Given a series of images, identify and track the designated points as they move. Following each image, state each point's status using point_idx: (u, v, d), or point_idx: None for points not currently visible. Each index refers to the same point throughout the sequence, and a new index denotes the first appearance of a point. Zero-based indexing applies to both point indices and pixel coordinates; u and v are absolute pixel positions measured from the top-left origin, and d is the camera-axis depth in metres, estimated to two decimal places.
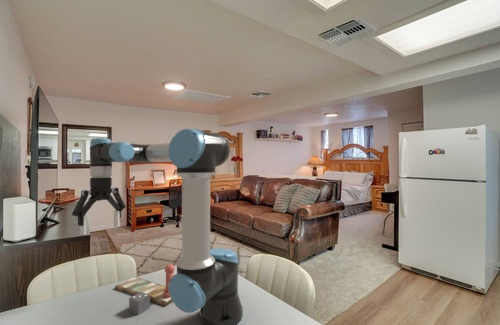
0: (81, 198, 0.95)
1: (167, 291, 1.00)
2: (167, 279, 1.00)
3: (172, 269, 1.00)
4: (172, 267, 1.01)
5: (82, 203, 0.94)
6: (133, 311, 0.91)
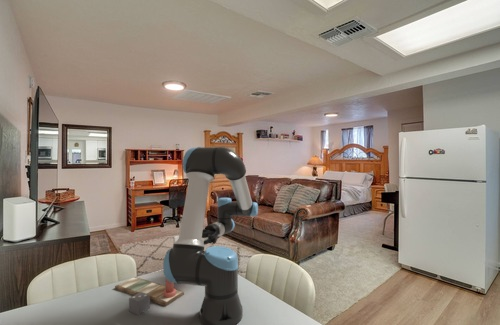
0: None
1: (167, 291, 1.00)
2: None
3: None
4: None
5: None
6: (133, 311, 0.91)
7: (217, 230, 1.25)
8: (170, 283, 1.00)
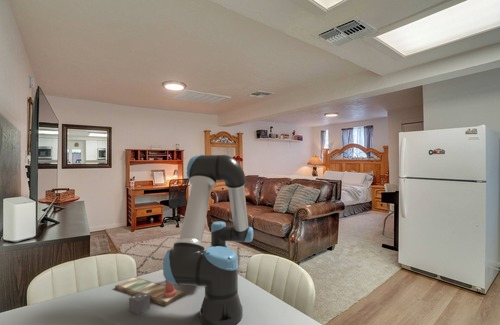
0: None
1: (167, 291, 1.00)
2: None
3: None
4: None
5: None
6: (133, 311, 0.91)
7: None
8: (170, 283, 1.00)
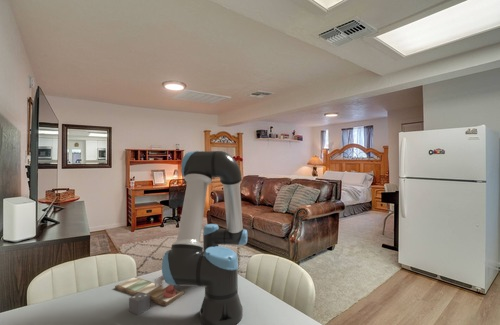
0: None
1: (167, 291, 1.00)
2: None
3: None
4: None
5: None
6: (133, 311, 0.91)
7: None
8: None
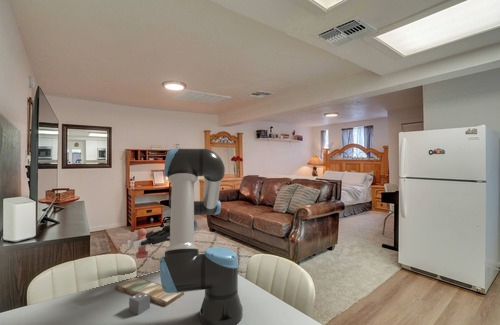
0: None
1: (139, 252, 1.09)
2: None
3: (144, 232, 1.09)
4: (144, 231, 1.09)
5: None
6: (133, 311, 0.91)
7: None
8: None
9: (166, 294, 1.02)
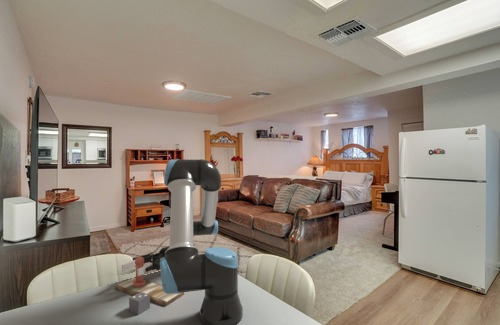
0: None
1: (136, 281, 1.08)
2: None
3: (141, 261, 1.09)
4: (141, 259, 1.09)
5: (142, 255, 1.19)
6: (133, 311, 0.91)
7: None
8: None
9: (166, 294, 1.02)
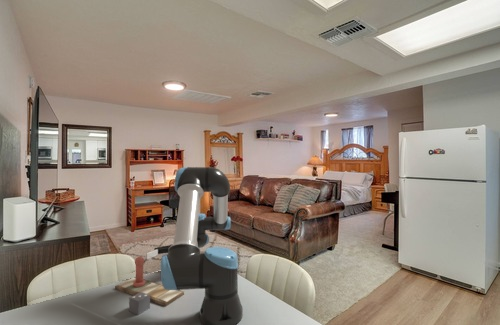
0: None
1: (136, 281, 1.08)
2: (137, 270, 1.08)
3: (141, 261, 1.09)
4: (141, 259, 1.09)
5: (163, 246, 1.32)
6: (133, 311, 0.91)
7: None
8: (139, 274, 1.08)
9: (166, 294, 1.02)
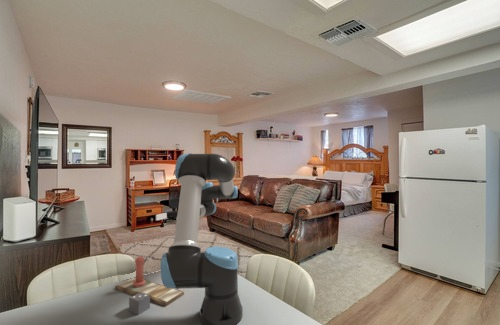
0: None
1: (136, 281, 1.08)
2: (137, 270, 1.09)
3: (141, 261, 1.09)
4: (142, 259, 1.09)
5: (172, 211, 1.34)
6: (133, 311, 0.91)
7: None
8: (139, 273, 1.08)
9: (166, 294, 1.02)
